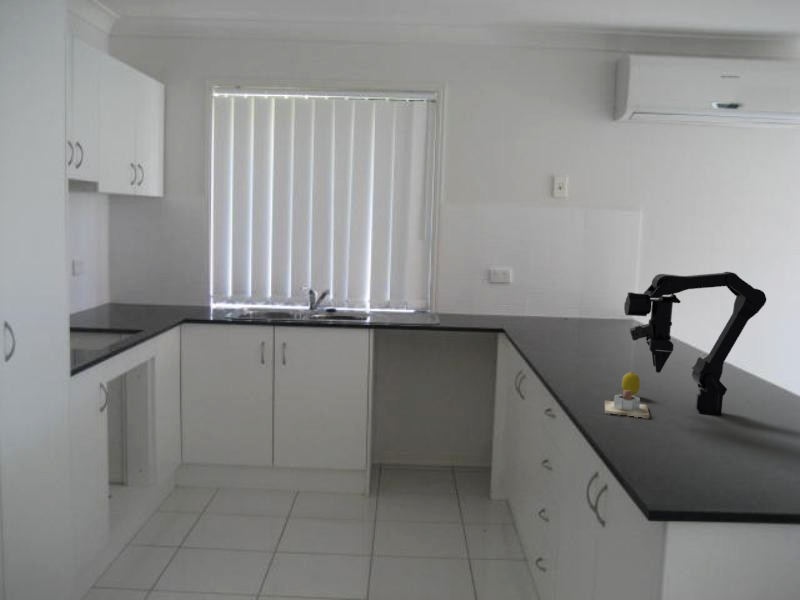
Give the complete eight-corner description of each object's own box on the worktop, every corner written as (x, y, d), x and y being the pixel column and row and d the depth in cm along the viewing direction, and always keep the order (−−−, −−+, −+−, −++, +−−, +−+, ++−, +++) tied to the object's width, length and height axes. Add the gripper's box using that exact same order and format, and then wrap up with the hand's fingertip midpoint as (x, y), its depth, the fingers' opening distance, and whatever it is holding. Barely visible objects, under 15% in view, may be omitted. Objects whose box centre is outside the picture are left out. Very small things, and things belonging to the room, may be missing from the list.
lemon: (627, 398, 226) (629, 373, 225) (617, 394, 231) (619, 369, 230) (642, 398, 227) (644, 373, 226) (632, 393, 232) (634, 369, 231)
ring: (638, 405, 214) (638, 395, 213) (639, 411, 207) (640, 401, 207) (613, 403, 215) (614, 393, 215) (614, 409, 209) (615, 399, 208)
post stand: (646, 407, 216) (647, 388, 215) (649, 418, 204) (651, 398, 203) (604, 403, 218) (606, 384, 218) (605, 413, 207) (606, 393, 206)
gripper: (630, 311, 223) (626, 360, 224) (634, 319, 205) (629, 373, 207) (668, 313, 220) (664, 364, 222) (675, 322, 202) (670, 376, 204)
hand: (656, 369), depth 214 cm, fingers open, 9 cm apart
